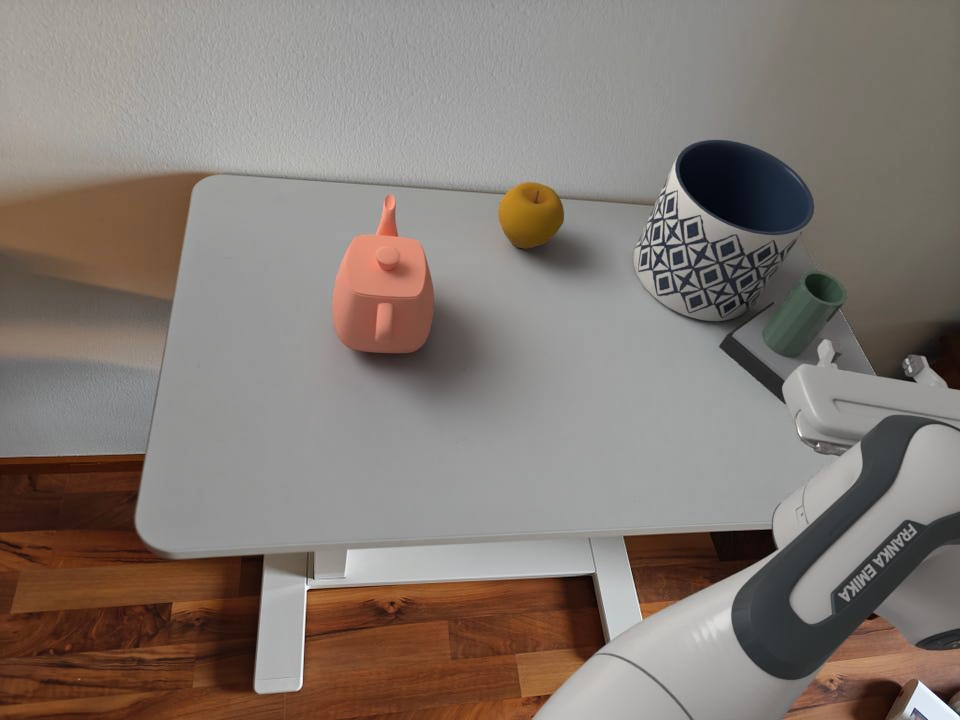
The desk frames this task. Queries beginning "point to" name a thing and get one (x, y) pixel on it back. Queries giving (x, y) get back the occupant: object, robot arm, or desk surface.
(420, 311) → the teapot
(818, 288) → the cup
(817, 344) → the scale
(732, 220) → the planter
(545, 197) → the apple
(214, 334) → the desk surface
